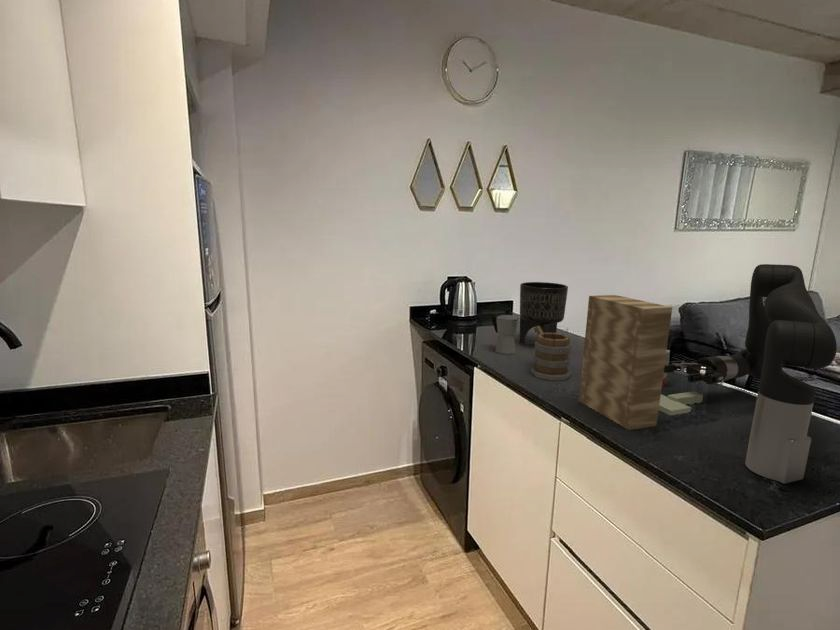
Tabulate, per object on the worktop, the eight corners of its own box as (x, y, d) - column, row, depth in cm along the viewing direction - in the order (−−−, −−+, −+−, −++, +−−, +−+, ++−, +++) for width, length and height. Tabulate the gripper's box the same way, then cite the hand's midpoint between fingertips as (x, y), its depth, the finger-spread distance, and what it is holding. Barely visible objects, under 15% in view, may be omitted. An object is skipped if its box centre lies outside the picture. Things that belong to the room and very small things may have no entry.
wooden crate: (656, 425, 120) (672, 307, 113) (629, 430, 117) (644, 308, 111) (603, 398, 138) (614, 294, 132) (579, 401, 135) (589, 295, 129)
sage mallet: (715, 408, 132) (717, 400, 132) (670, 415, 127) (671, 407, 126) (680, 393, 143) (681, 386, 143) (637, 399, 138) (638, 391, 137)
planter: (539, 337, 210) (543, 281, 205) (572, 347, 194) (578, 286, 189) (507, 342, 200) (510, 283, 195) (539, 353, 184) (544, 289, 179)
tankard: (576, 380, 154) (580, 337, 151) (541, 381, 152) (544, 338, 149) (550, 362, 173) (553, 324, 170) (518, 363, 171) (521, 324, 168)
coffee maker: (524, 354, 183) (527, 310, 180) (508, 357, 178) (511, 312, 175) (498, 345, 195) (500, 304, 192) (483, 348, 191) (485, 306, 187)
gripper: (697, 350, 144) (657, 354, 138) (741, 364, 131) (699, 369, 125) (693, 373, 145) (654, 378, 140) (737, 388, 132) (696, 394, 127)
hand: (676, 373), depth 133 cm, fingers open, 8 cm apart
